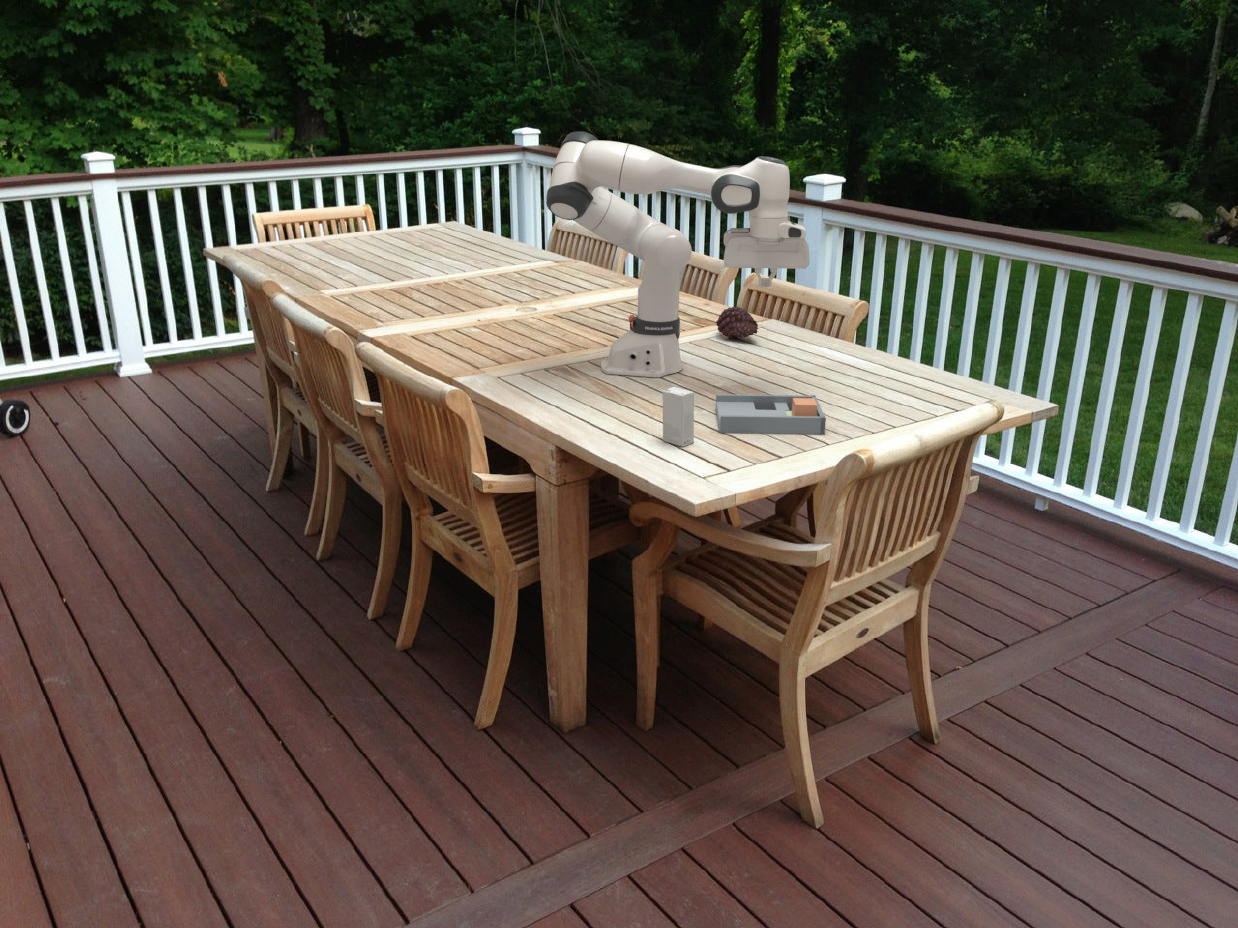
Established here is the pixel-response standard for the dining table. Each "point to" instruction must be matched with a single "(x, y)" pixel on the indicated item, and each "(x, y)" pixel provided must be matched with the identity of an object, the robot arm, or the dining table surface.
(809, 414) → the block
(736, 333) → the pine cone
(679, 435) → the skincare box
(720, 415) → the box
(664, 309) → the robot arm
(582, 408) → the dining table surface
